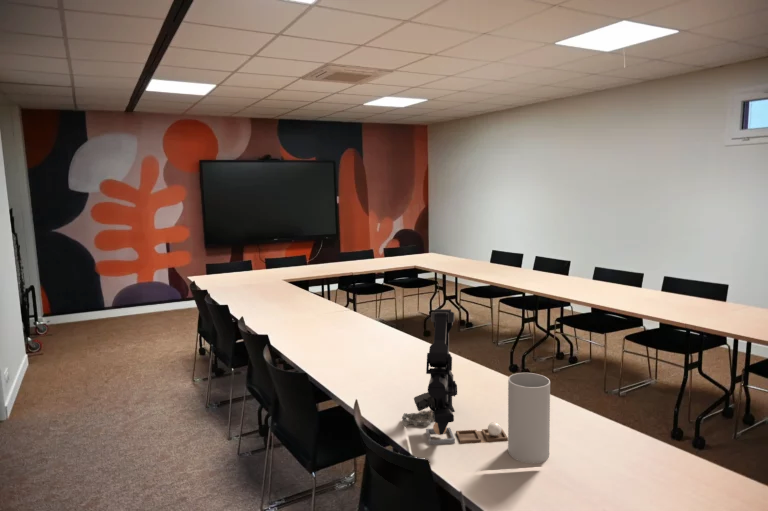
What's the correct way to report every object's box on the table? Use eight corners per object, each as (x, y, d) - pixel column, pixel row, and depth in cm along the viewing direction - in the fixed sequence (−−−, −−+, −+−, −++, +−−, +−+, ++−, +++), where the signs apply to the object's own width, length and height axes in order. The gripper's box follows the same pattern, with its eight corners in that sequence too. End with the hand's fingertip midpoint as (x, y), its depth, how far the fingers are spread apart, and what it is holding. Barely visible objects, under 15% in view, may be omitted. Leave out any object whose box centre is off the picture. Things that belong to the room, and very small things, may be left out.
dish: (426, 435, 174) (425, 428, 174) (450, 433, 175) (449, 427, 174) (429, 447, 166) (429, 440, 166) (454, 445, 166) (454, 439, 166)
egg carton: (433, 421, 185) (432, 410, 185) (429, 430, 178) (429, 419, 177) (404, 418, 188) (404, 408, 187) (400, 427, 181) (400, 417, 180)
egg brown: (432, 431, 172) (432, 418, 172) (445, 430, 172) (445, 417, 172) (434, 437, 168) (434, 424, 167) (448, 437, 168) (447, 424, 167)
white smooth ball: (486, 432, 172) (486, 420, 172) (499, 432, 173) (499, 419, 172) (489, 439, 168) (489, 426, 167) (503, 438, 168) (503, 425, 167)
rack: (455, 435, 174) (455, 430, 173) (501, 432, 174) (501, 427, 174) (460, 446, 166) (460, 441, 165) (508, 443, 166) (508, 438, 166)
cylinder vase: (557, 462, 155) (558, 384, 151) (521, 469, 151) (522, 390, 148) (534, 443, 166) (535, 370, 163) (500, 449, 163) (500, 375, 160)
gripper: (412, 377, 177) (413, 419, 179) (418, 399, 158) (420, 445, 160) (443, 375, 177) (444, 417, 179) (453, 397, 159) (454, 443, 161)
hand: (440, 430), depth 170 cm, fingers closed on egg brown, 5 cm apart
